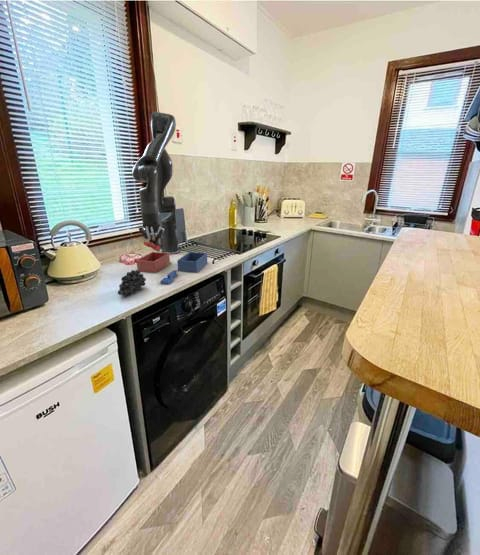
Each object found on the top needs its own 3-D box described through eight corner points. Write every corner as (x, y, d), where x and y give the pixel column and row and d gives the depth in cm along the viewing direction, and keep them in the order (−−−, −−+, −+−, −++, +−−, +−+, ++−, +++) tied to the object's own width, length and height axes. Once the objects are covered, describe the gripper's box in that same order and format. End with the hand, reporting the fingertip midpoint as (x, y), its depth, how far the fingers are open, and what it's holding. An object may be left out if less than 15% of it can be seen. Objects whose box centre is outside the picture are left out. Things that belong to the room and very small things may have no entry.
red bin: (137, 270, 139) (136, 260, 137) (153, 261, 152) (152, 251, 150) (155, 272, 136) (154, 261, 134) (170, 262, 150) (169, 253, 148)
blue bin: (178, 270, 139) (177, 260, 137) (190, 261, 152) (189, 251, 150) (196, 272, 136) (196, 261, 134) (207, 263, 150) (207, 253, 148)
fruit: (120, 279, 104) (143, 265, 117) (104, 283, 107) (129, 269, 120) (130, 299, 106) (151, 283, 120) (114, 302, 110) (137, 287, 123)
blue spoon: (168, 284, 122) (168, 279, 121) (160, 283, 123) (159, 278, 122) (179, 275, 133) (179, 270, 132) (172, 274, 133) (171, 269, 132)
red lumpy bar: (150, 244, 127) (151, 239, 127) (143, 243, 128) (144, 238, 128) (162, 251, 137) (163, 247, 138) (154, 251, 138) (156, 246, 139)
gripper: (166, 210, 129) (170, 246, 135) (141, 209, 131) (145, 244, 138) (158, 213, 122) (162, 250, 129) (132, 212, 125) (137, 248, 131)
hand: (153, 247), depth 133 cm, fingers closed on red lumpy bar, 1 cm apart
